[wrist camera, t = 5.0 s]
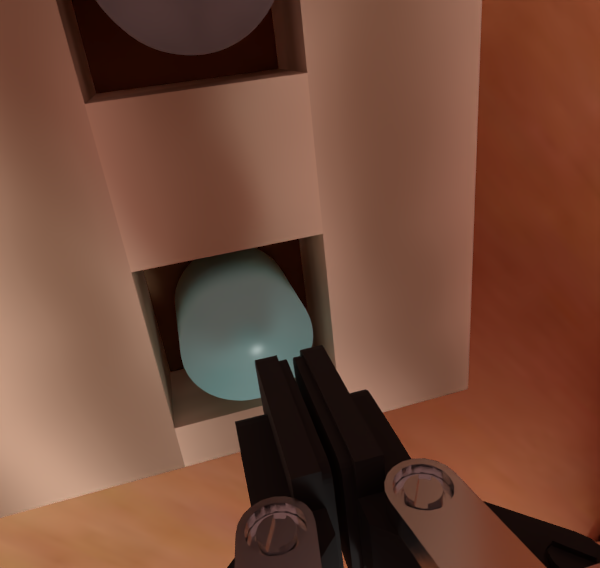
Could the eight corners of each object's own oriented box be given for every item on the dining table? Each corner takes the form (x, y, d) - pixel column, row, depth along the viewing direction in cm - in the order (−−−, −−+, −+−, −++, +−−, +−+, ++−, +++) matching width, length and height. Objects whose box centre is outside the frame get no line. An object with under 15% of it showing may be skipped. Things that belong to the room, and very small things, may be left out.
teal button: (279, 234, 16) (306, 270, 14) (293, 333, 18) (318, 382, 15) (163, 257, 16) (166, 300, 13) (187, 358, 17) (195, 414, 14)
